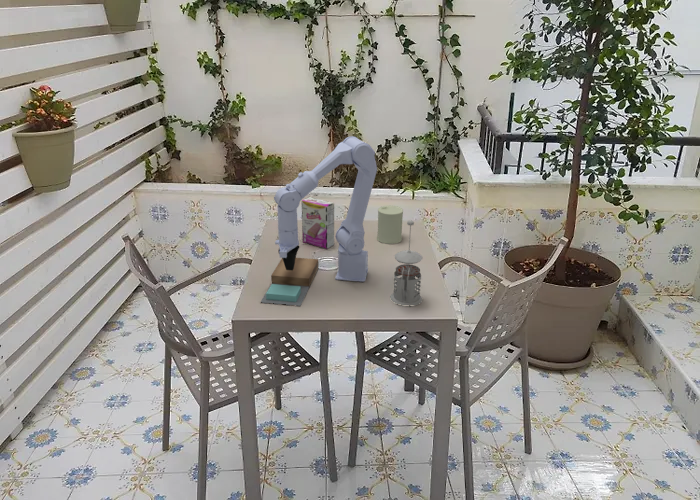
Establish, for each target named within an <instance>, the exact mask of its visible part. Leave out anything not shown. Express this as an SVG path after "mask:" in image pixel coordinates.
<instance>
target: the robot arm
mask: <svg viewBox="0 0 700 500" xmlns="http://www.w3.org/2000/svg"><path fill="white" fill-rule="evenodd" d="M375 154H376V151H375V150H374V149H373V147H372V146H371V144H369V143H367V142H365V141H362V140H361V139H359V138H358V137H356V136H352V135H351V136H350V135H349V136H348V137H346V138H344V140H343V141H341V142H339V143H338V144H337V145H336V147H335V148H334V149H333V150H332V151H331V152H330V153H329V154H328V155H327V156H326V157H325V158H324V159H323V160H321V161H320V162H319V164H317V165H316V166H315V167H314V168H313V169H312V170H304V172H302V171H300V172H299V173H298V174H297V177H296V178H294V180H292V181H291V182H290V183H287V184H285V187H281V188H279V189H277V190H276V192H275V195H274V196H273V200H274V202H275V204H277V232H278V231H279V239H276V240H275V241H274V244H275V245H277V246H278V249H277V250H278V255H279V258H281V259H283V261H284V265H285V268H286V270H293V269H294V265H295V259H296V258H297V254H298V252H299V250H300V241H299V228H298V208H299V206H300V204H301V203H300V202H302V200H303V199H305V198H306V196H307V195H309V194H311V193H312V192H313V191H315V189H317V187H318V186H319V182H320V180H321V179H322V178H323V177H325V176H327V175H328V174H329V173H330V172H332V171H333V170H335V169H336V168H337V167H338V166H340V165H354V166H355V168H356V170H357V174H356V179H355V182H354V186H353V189H352V190H353V191H352V193H351V198H350V201H349V202H350V203H349V206H348V209H347V213H346V217H345V219H343V220H342V221H341V222H340V226H339V228H338V229H337V230H336V232H335V235H334V238H335V240H336V242H337V243H338V252H337V254H338V255H337V257H338V261H337V262H338V263H337V264H338V265H337V266H338V267H337V269H338V270H337V273H336V276H335V277H334V278H335V280H336V281H337V280H338V281H351V282H361V283H363V282H366V279H367V276H368V273H369V265H368V263H369V262H368V261H369V251H368V250H365V249H364V247H365V228H364V224H363V223H364V220H365V217H366V213H367V209H368V205H369V202H370V199H371V198H370V197H371V194H372V189H373V187H374V182H375V178H376V175H377V171H378V166H377V162H376V158H375V156H376V155H375Z"/></svg>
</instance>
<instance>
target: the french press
mask: <svg viewBox="0 0 700 500" xmlns="http://www.w3.org/2000/svg"><path fill="white" fill-rule="evenodd" d="M414 224H415V222H414V221H413V220H411V219H410V220H407V222H406V225H407V226H409V233H411V231H412V230H411V229H412V228H411V227H412V226H414ZM408 239H409V240H408V249H406V250H405V249H404V250H401V251H399V252H397V253H395V254H394V259H395V261H397V262H399V263H400V264H399V265H398V266H396V267H395V271H394V275H393V293H391V295H390V298H391V300H392V301H393V302H395V303H397V304H401V305H417V304H419V303H421V304H422V302H423V301H422V299H423V296H421V286H422V285H421V284H422V281H421V280H422V274H421V269H420V268H419V267H418V266H417V265H415V264H418V263H420V262H422V260H423V259H424V258H423V255H422V254H420V253H419V252H418V251H415V250H410V249H411V247H410V246H411V235H409V237H408ZM413 264H414V265H413ZM391 300H390V301H391ZM392 301H391V302H392ZM421 301H422V302H421ZM393 302H392V303H393ZM419 305H420V304H419ZM417 306H418V305H417Z"/></svg>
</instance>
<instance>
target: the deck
mask: <svg viewBox="0 0 700 500" xmlns="http://www.w3.org/2000/svg"><path fill="white" fill-rule="evenodd" d="M319 265H320V264H319V259H318V258H305V257H296V259H295V265H294V269H293V270H286V268H285V265H284V261H283V259H282V258H281V259H280V261H279V262H278V264H277V266H276V267H275V269H274V270H273V272H272V273H271V275H270V276H271V277H270V278H271V284H272V283H275V284H287V285H299V286H309V288H310V287H311V284H312V282H313V280H314V278H315V276H316V274H317V271H318V269H319V268H318V267H320V266H319Z"/></svg>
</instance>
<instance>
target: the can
mask: <svg viewBox="0 0 700 500" xmlns="http://www.w3.org/2000/svg"><path fill="white" fill-rule="evenodd" d="M377 213H378V214H377V235H376V240H377V241H378V242H380V243H381V244H387V245H393V244H399V243H400V242H401V241H402V240H403V239H402V238H403V237H402V234H403V218H404V217H403V215H404V209H403V208H402V207H401V206H396V205H383V206H380V207H379V208H378V209H377Z"/></svg>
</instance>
